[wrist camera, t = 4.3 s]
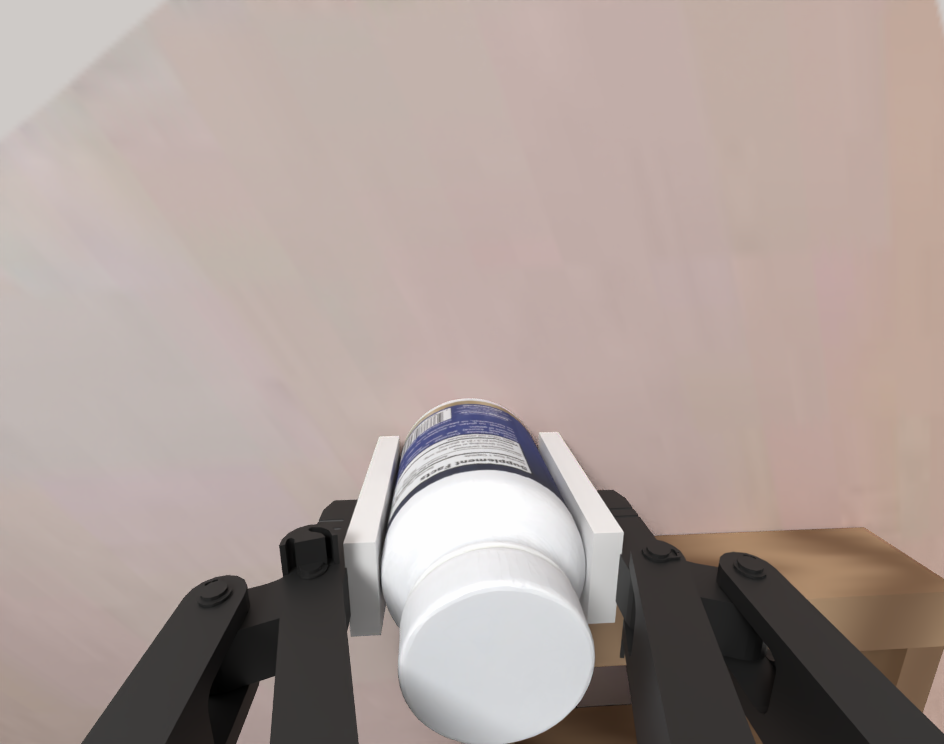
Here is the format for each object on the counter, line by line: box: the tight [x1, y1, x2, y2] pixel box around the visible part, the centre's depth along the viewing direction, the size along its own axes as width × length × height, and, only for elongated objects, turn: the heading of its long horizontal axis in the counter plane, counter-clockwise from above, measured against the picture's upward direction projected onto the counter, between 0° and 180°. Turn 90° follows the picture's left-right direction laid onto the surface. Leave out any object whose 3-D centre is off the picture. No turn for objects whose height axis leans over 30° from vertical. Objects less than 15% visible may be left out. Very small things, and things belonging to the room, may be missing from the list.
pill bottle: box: [380, 398, 595, 744], centre depth 14 cm, size 5×5×10 cm
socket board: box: [507, 527, 944, 744], centre depth 19 cm, size 18×12×4 cm, turn 90°
